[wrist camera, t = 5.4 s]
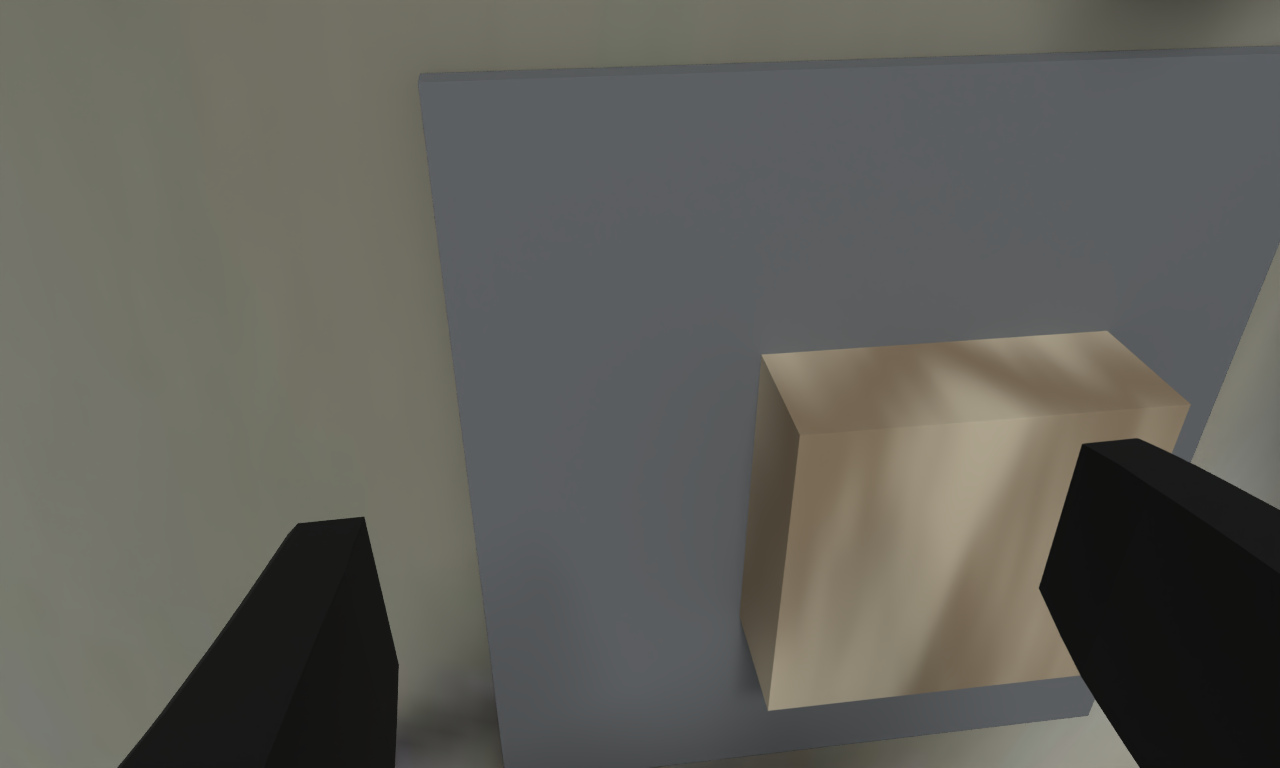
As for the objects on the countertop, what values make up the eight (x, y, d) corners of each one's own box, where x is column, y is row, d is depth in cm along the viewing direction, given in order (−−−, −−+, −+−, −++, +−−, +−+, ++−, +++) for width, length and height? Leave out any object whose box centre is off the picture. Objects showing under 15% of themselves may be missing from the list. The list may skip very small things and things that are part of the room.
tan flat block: (761, 354, 20) (1106, 330, 21) (739, 616, 24) (1026, 586, 25) (799, 435, 18) (1190, 404, 18) (767, 710, 22) (1086, 674, 23)
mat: (1333, 43, 19) (1356, 50, 18) (1078, 699, 29) (1088, 715, 29) (420, 73, 17) (418, 82, 16) (506, 766, 27) (506, 784, 27)
